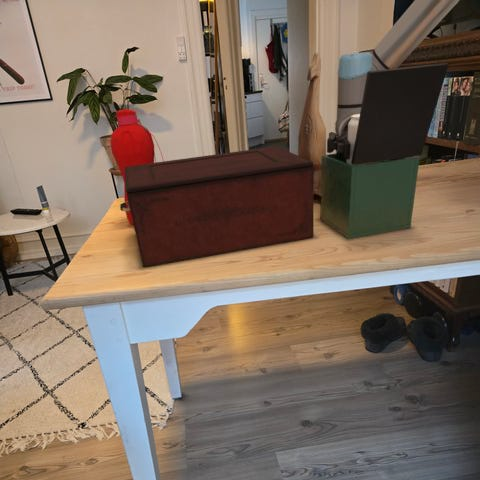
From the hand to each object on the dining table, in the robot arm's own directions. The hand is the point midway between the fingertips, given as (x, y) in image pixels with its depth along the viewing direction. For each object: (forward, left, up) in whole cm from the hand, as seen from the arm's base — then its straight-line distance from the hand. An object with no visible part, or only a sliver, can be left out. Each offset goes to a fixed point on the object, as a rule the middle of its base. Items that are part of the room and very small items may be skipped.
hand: (372, 150), depth 75 cm
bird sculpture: (+15, -26, -16) cm, 34 cm away
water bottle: (+52, -6, -16) cm, 54 cm away
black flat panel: (-3, +3, +6) cm, 7 cm away
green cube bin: (+1, -5, -15) cm, 16 cm away
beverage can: (+1, -5, -7) cm, 8 cm away
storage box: (+31, +3, -16) cm, 35 cm away
